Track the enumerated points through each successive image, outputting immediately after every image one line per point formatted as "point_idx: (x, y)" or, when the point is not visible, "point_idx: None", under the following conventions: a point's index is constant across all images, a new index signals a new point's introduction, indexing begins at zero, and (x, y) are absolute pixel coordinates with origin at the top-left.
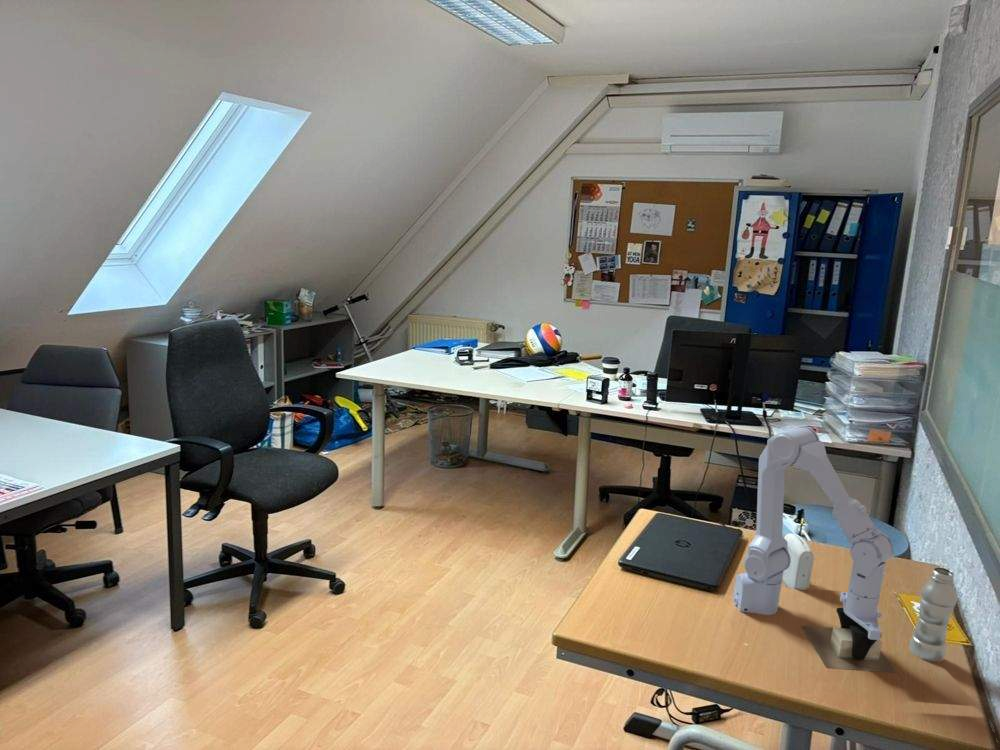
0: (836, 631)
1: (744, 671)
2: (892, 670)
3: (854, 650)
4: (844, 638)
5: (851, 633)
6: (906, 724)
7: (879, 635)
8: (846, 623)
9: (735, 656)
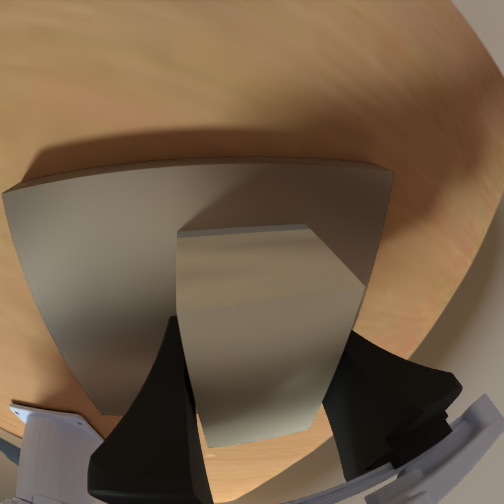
0: (239, 442)
1: (295, 447)
2: (378, 189)
3: None
4: (297, 425)
5: (338, 447)
6: (480, 239)
7: (495, 413)
8: (199, 449)
9: (254, 457)
